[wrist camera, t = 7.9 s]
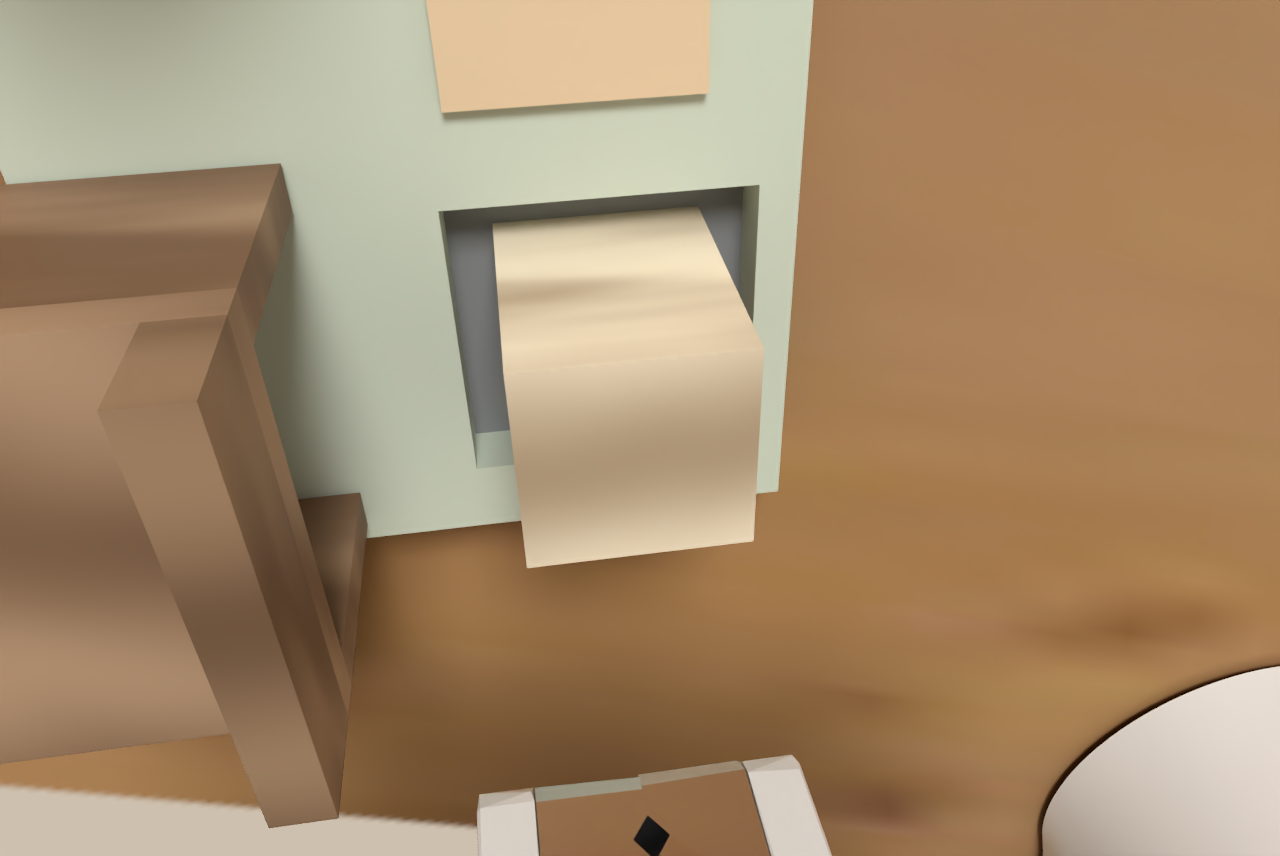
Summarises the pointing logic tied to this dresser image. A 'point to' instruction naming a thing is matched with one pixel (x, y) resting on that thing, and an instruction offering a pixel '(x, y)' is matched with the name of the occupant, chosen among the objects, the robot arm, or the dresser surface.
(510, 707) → the dresser surface
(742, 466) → the block
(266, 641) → the brown wooden piece
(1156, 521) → the dresser surface
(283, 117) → the board
